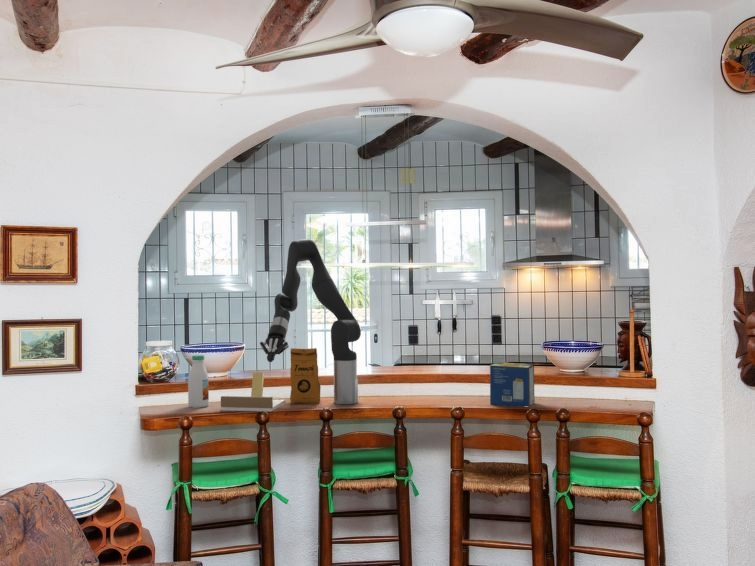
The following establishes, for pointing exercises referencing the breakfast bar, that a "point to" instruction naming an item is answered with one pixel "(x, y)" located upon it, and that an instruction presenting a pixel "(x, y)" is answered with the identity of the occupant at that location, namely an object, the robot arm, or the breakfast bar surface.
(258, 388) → the bar
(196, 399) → the milk bottle
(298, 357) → the coffee package
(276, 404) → the board
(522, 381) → the protein box
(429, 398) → the breakfast bar surface
